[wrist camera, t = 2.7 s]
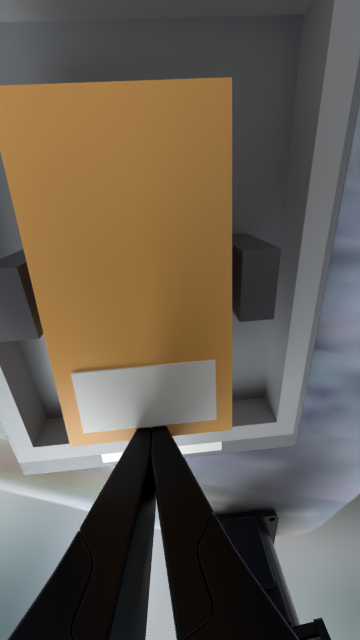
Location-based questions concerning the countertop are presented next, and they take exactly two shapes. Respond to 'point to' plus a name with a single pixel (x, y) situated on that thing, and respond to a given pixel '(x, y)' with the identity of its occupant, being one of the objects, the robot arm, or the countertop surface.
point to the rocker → (128, 247)
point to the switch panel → (247, 192)
